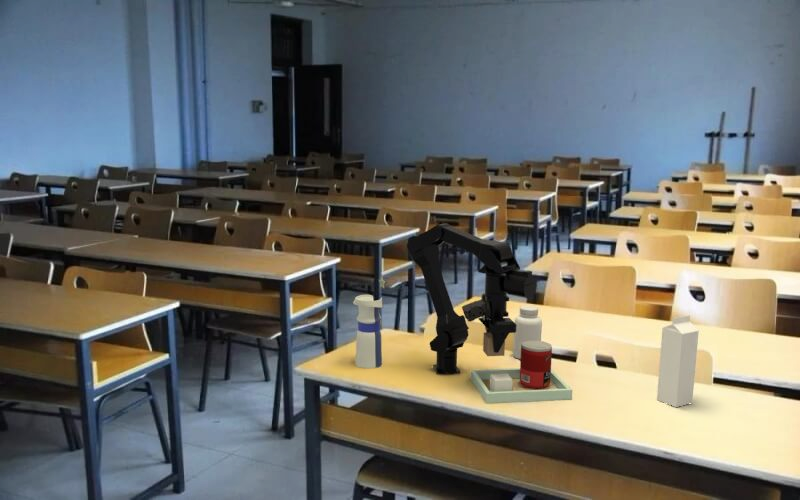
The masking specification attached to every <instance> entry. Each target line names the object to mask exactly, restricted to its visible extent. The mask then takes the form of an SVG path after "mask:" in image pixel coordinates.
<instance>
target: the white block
mask: <svg viewBox="0 0 800 500" xmlns="http://www.w3.org/2000/svg"><path fill="white" fill-rule="evenodd" d="M513 382H514V379H513V378H511V377H510V376H509V375H508V374H490V379H489V392H502V391H513Z"/></svg>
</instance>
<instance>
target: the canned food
mask: <svg viewBox="0 0 800 500" xmlns="http://www.w3.org/2000/svg"><path fill="white" fill-rule="evenodd" d="M552 356H553V345H552V344H550V343H548V342H546V341H542V340H541V341H533V340H532V341H525V342H523V343H522V344H521V359H520V365H519V366H520V367H519V368H520V378H519V383H520V385H521V386H522V387H524V388H526V389H528V390H546V389H547V388H548V389H549V386H550V384H551V381H550V377H551V369H552V358H553V357H552Z"/></svg>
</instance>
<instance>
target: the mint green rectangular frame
mask: <svg viewBox="0 0 800 500" xmlns="http://www.w3.org/2000/svg"><path fill="white" fill-rule="evenodd" d="M490 374H508V375H509V376H510V377H511V378H512V379H520V367H512V368H509V367H508V368H493V369H492V368H490V369H488V368H487V369H485V368H484V369H470V375H469V376H470V377H469V379H470V380H471V382H472V383H473V385H474V387H475V388H476V389H477V392H479V394H480V396H481V398H483V401H484V402H485V404H498V403H499V404H500V403H518V402H519V403H521V402H522V403H523V402H543V401H546V402H547V401H561V400H562V401H565V400H567V401H568V400H573V389H572V388H571V387H570V386H569V385H568V384H567V383H566V382H565V381H564V380H563V379H562V378H561V377H560V376H559V375H558V373H556V372H555V371H554V370H553V369H552V368H551V377H550V383H552V384H553V386H555V388H551V389H550V388H548V389H547V388H546V389H527V390H512V391H502V392H490V389H489V388H488V387H487V386H486V385H485V383H484V381H483V380H485V381H487V380H490Z"/></svg>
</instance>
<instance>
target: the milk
mask: <svg viewBox="0 0 800 500" xmlns="http://www.w3.org/2000/svg"><path fill="white" fill-rule="evenodd" d="M690 317H691V316H690V315H683V316H678V317H677V316H676V317H673V318H672V323H671V324H669V325H666V326H663V327H662V328H661V329H662V331H661V343H660V353H659V354H660V356H659V367H658V368H659V369H658V379H657V380H658V382H657V395H656V400H657V401H659V402H661V403H663V402H664V404H666V403H667V404H666V405H668V404H669V405H668V406H670V405H672V406H671V407H673V406H674V407H673V408H675V407H678V408H680V407H679V406H681V407H684V406H683V405H685V406H687V405H686V404H689V403H692V404H693V400H694V399H693V396H694V386H695V376H696V364H697V363H696V362H697V353H698V343H699V342H698V341H699V330H698V328H697V327H696V326H695V325H694V324H693V323H692V322H691V321H690ZM689 405H690V404H689Z"/></svg>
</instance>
